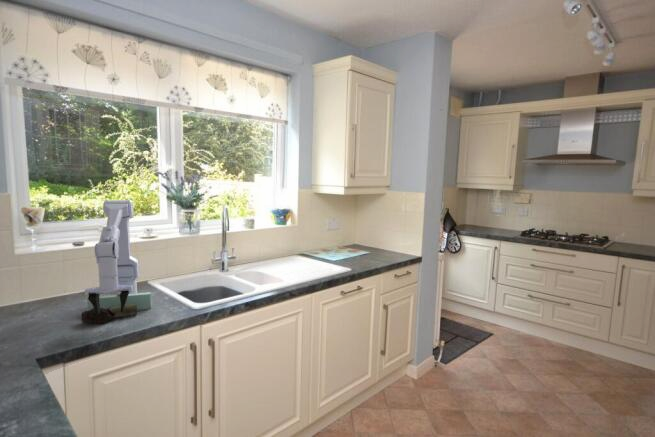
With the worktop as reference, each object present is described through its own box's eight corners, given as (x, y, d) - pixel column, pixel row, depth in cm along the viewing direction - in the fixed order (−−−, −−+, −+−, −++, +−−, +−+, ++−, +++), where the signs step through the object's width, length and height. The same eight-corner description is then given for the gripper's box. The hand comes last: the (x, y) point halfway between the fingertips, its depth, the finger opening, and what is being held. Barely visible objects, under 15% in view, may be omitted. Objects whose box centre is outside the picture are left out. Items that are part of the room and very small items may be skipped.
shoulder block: (90, 311, 147) (89, 294, 146) (151, 306, 153) (151, 290, 153) (88, 314, 144) (87, 297, 143) (150, 308, 151) (150, 292, 150)
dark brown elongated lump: (135, 312, 147) (134, 298, 146) (138, 318, 142) (137, 304, 141) (81, 322, 137) (80, 307, 136) (82, 328, 131) (81, 313, 131)
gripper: (80, 280, 125) (83, 318, 127) (129, 276, 130) (131, 314, 131) (87, 274, 132) (89, 311, 134) (132, 271, 136) (134, 307, 138)
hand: (110, 312), depth 133 cm, fingers open, 7 cm apart
